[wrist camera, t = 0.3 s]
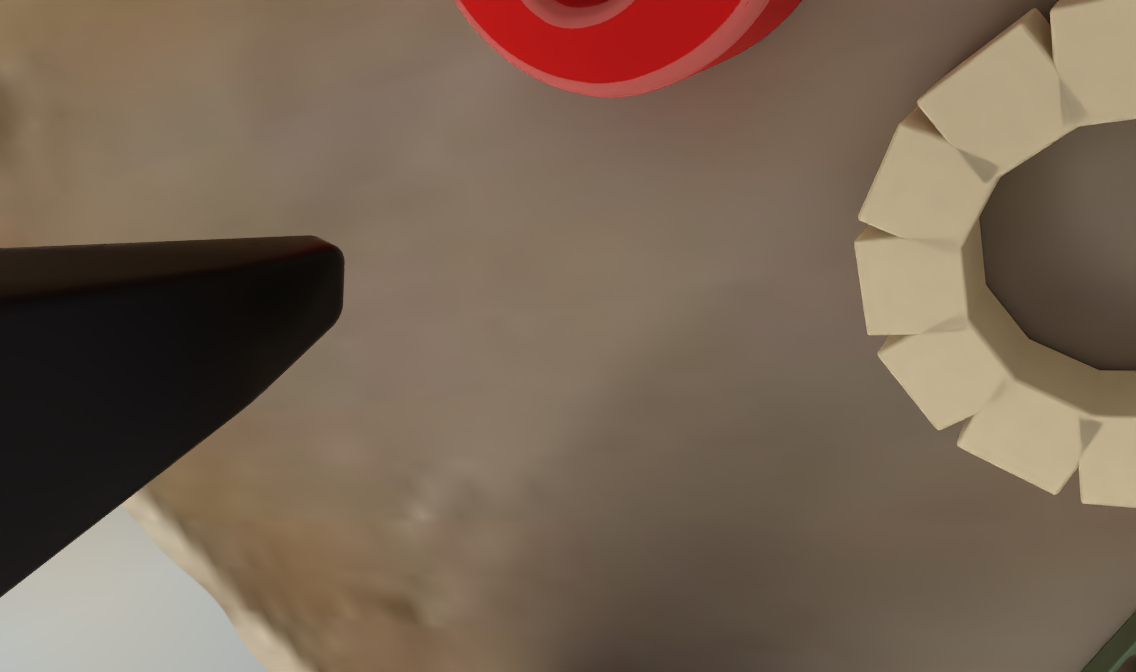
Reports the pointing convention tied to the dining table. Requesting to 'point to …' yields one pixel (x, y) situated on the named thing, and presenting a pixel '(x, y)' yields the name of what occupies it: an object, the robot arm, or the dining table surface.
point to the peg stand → (1116, 649)
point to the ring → (955, 257)
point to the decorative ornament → (621, 38)
